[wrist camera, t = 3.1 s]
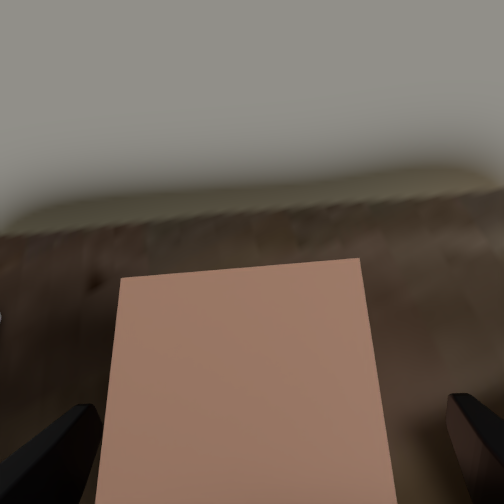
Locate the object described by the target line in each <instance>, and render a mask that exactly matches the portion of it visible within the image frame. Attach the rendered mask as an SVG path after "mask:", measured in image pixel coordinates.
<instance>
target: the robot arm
mask: <svg viewBox="0 0 504 504" xmlns="http://www.w3.org/2000/svg"><path fill="white" fill-rule="evenodd" d="M446 426H447V430H448V433H449V436H450V439H451V442H452V444H453V447H454V450H455V453H456V456H457V459H458V462H459V465H460V468H461V471H462V473H463V476H464V479H465V482H466V485H467V488H468V491H469V493H470V496H471V499H472V502H473V504H504V420H503V419H501V418H500V417H499V416H497V415H496V414H495V413H494V412H492V411H491V410H490V409H488V408H487V407H486V406H485V405H483V404H482V403H481V402H479V401H478V400H477V399H476V398H474V397H473V396H472V395H470V394H468V393H452V394H450V395H449V396H448V401H447V410H446ZM102 434H103V424H102V421H101V419H100V417H99V415H98V412H97V410H96V408H95V406H94V405H93V404H78V405H76V406H74V407H73V408H72V409H70V410H69V411H68V412H66V413H65V414H64V415H62V416H61V417H60V418H59V419H57V420H56V421H55V422H53V423H52V424H51V425H49V426H48V427H47V428H45V429H44V430H43V431H42V432H40V433H39V434H38V435H36V436H35V437H34V438H32V439H31V440H30V441H29V442H27V443H26V444H25V445H23V446H22V447H21V448H19V449H18V450H17V451H16V452H14V453H13V454H12V455H10V456H9V457H8V458H6V459H5V460H4V461H2V462H1V463H0V504H79V501H80V499H81V496H82V494H83V491H84V488H85V486H86V483H87V480H88V477H89V473H90V470H91V467H92V464H93V461H94V458H95V455H96V452H97V449H98V446H99V443H100V440H101V437H102Z"/></svg>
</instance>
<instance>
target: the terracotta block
mask: <svg viewBox="0 0 504 504" xmlns="http://www.w3.org/2000/svg"><path fill="white" fill-rule="evenodd" d="M95 504H397V499H396V492H395V486H394V479H393V473H392V467H391V460H390V454H389V447H388V441H387V434H386V428H385V421H384V415H383V408H382V402H381V395H380V389H379V382H378V376H377V370H376V363H375V357H374V350H373V344H372V337H371V331H370V324H369V318H368V311H367V305H366V298H365V292H364V286H363V279H362V273H361V266H360V260H359V258H354V259H342V260H330V261H318V262H306V263H294V264H282V265H271V266H259V267H247V268H235V269H223V270H211V271H199V272H187V273H176V274H164V275H152V276H140V277H128V278H121V284H120V292H119V301H118V310H117V318H116V327H115V336H114V344H113V353H112V362H111V370H110V379H109V388H108V396H107V405H106V414H105V422H104V431H103V440H102V448H101V457H100V466H99V474H98V483H97V492H96V500H95Z"/></svg>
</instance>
